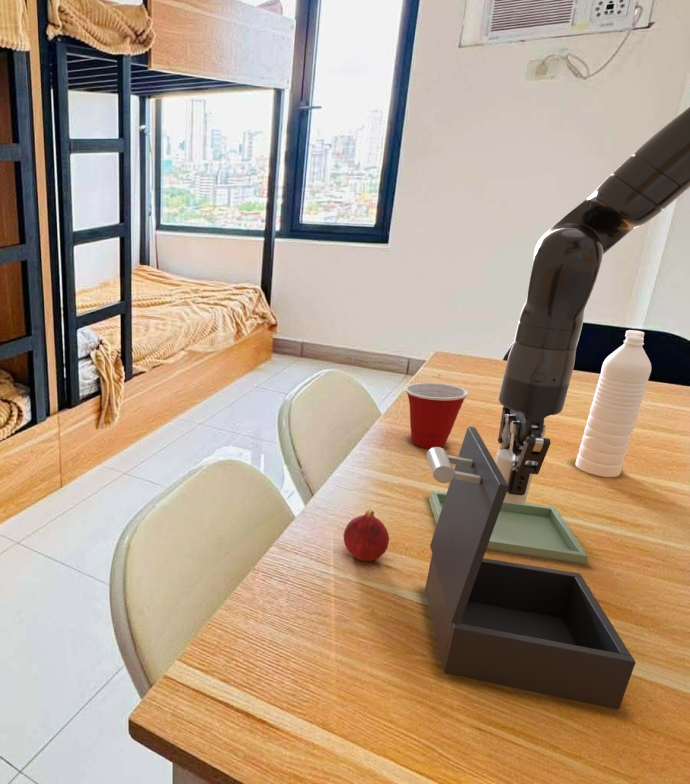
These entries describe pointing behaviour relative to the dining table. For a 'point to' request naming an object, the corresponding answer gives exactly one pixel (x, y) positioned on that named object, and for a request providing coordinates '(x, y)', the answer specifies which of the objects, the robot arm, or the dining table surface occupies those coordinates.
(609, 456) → the water bottle
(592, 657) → the dark gray hinged box
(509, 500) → the white cylinder
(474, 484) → the lid
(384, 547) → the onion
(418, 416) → the plastic cup
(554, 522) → the drip tray
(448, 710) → the dining table surface
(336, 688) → the dining table surface
